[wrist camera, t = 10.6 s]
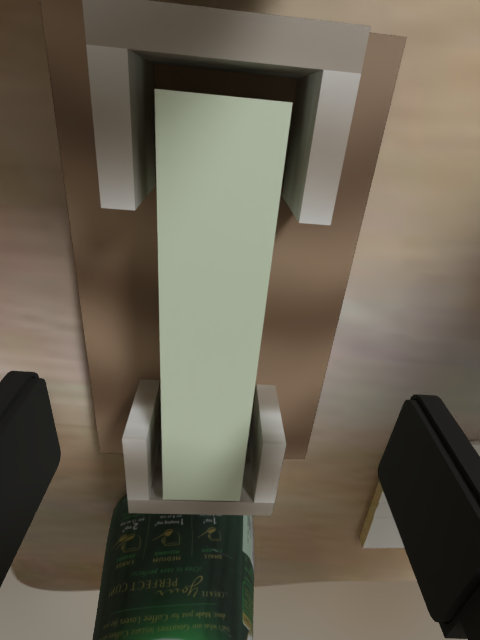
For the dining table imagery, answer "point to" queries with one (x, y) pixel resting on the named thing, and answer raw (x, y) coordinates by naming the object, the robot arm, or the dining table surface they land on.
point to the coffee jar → (176, 577)
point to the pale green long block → (213, 278)
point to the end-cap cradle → (141, 207)
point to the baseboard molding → (385, 520)
